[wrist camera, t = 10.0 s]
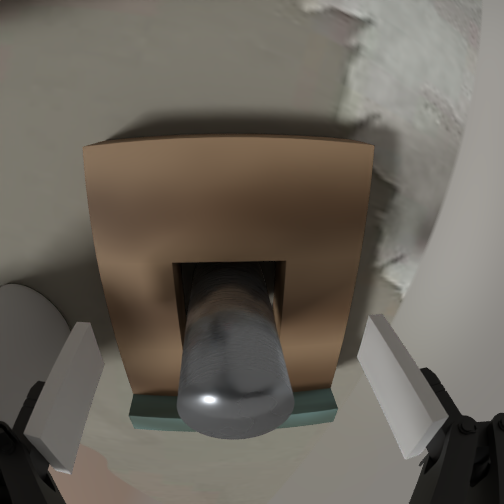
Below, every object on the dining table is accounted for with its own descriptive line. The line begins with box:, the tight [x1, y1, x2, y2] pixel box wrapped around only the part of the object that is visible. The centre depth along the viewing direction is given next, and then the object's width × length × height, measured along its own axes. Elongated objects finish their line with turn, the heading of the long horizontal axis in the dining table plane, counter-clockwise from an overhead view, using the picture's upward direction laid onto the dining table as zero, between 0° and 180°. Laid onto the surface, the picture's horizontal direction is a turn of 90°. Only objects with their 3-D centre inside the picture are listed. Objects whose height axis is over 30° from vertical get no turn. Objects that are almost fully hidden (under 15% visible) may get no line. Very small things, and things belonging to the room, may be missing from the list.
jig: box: [83, 134, 374, 432], centre depth 18 cm, size 18×14×5 cm
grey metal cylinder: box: [177, 261, 294, 439], centre depth 15 cm, size 4×4×10 cm
